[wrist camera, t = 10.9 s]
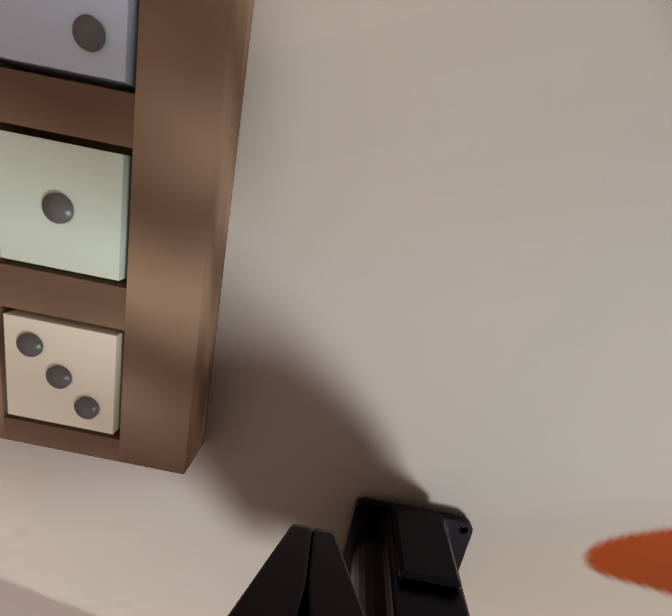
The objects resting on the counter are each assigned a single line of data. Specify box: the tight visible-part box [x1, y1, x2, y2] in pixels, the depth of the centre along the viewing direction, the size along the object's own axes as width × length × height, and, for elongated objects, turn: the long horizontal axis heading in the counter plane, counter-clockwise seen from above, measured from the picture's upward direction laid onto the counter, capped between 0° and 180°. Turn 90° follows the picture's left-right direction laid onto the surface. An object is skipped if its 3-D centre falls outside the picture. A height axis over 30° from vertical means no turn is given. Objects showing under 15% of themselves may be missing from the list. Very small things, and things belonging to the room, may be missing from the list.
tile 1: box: [0, 130, 132, 281], centre depth 17 cm, size 5×5×2 cm
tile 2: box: [0, 0, 140, 92], centre depth 14 cm, size 5×5×2 cm
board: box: [0, 0, 254, 474], centre depth 17 cm, size 23×12×2 cm, turn 169°
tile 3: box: [3, 309, 125, 434], centre depth 19 cm, size 5×5×2 cm
